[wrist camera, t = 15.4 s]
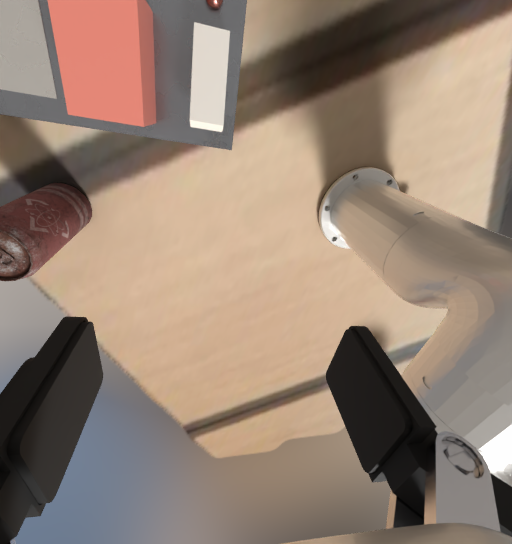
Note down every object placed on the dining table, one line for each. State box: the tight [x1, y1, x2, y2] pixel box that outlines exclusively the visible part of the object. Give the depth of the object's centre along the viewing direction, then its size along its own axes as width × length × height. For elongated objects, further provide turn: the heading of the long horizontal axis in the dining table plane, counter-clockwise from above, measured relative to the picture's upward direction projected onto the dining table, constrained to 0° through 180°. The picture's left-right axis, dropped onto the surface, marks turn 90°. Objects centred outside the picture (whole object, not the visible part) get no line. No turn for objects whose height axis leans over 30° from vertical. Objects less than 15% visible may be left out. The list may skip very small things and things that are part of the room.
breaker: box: [190, 22, 230, 132], centre depth 25 cm, size 3×8×2 cm, turn 171°
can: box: [0, 183, 92, 281], centre depth 29 cm, size 6×6×14 cm
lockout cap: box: [48, 0, 156, 127], centre depth 23 cm, size 6×9×6 cm, turn 171°
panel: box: [0, 0, 247, 150], centre depth 26 cm, size 25×14×4 cm, turn 81°
